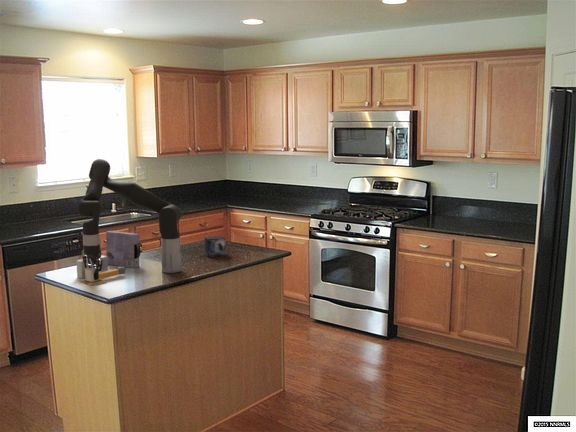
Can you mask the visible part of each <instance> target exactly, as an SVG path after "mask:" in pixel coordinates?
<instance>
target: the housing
mask: <svg viewBox="0 0 576 432" xmlns="http://www.w3.org/2000/svg"><path fill="white" fill-rule="evenodd" d="M100 251H101V252H100V253H99V254H98V256H99V259H100V260H101V259H102V260H103V263H102V270H101V271H99V273H100V272H105V271H109V268H108V267H109V266H108V263H107V256H106V255H102V249H101V248H100ZM83 256H86V254H84V251H83V249H82V250H81V257H82V258H81V259H77V260H76V277H77V278H78V279H82V280H86V277H85V269H86V268H85V267H84V262H83ZM86 266H87V265H86Z"/></svg>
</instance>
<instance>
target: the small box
mask: <svg viewBox="0 0 576 432" xmlns="http://www.w3.org/2000/svg"><path fill="white" fill-rule="evenodd" d="M204 256H205V257H207V258H213V257H226V237H225V236H223V235H216V236H215V235H214V236H213V235H212V236H204Z"/></svg>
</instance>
